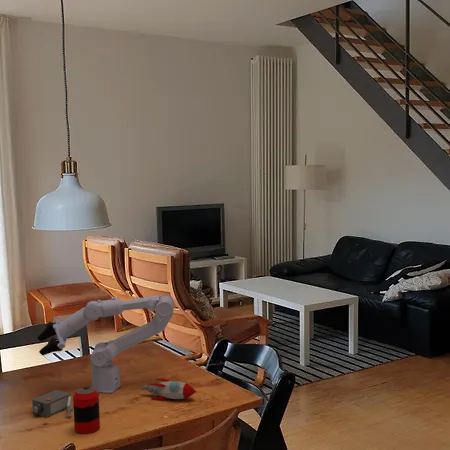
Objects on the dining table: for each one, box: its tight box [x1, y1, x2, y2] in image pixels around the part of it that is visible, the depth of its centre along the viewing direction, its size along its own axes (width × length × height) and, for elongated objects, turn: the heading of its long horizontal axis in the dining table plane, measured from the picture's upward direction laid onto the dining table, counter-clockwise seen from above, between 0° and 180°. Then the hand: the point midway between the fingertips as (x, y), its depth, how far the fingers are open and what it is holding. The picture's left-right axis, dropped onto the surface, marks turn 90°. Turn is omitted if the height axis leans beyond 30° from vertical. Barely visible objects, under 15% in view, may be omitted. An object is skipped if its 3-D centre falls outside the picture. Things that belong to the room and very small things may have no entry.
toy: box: [139, 378, 197, 401], centre depth 212 cm, size 21×7×7 cm
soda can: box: [72, 386, 101, 435], centre depth 188 cm, size 8×8×12 cm
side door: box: [66, 395, 74, 418], centre depth 201 cm, size 2×8×4 cm, turn 11°
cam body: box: [31, 389, 72, 418], centre depth 203 cm, size 7×12×5 cm, turn 146°
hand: (40, 346), depth 219 cm, fingers open, 7 cm apart
